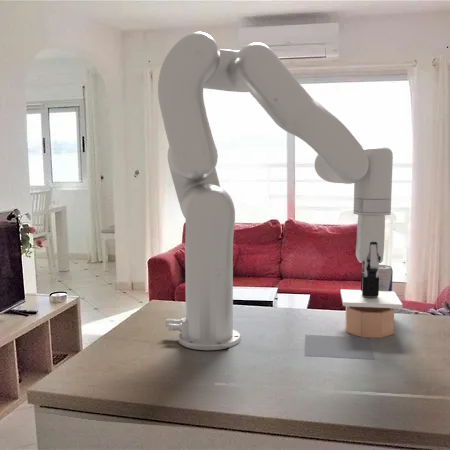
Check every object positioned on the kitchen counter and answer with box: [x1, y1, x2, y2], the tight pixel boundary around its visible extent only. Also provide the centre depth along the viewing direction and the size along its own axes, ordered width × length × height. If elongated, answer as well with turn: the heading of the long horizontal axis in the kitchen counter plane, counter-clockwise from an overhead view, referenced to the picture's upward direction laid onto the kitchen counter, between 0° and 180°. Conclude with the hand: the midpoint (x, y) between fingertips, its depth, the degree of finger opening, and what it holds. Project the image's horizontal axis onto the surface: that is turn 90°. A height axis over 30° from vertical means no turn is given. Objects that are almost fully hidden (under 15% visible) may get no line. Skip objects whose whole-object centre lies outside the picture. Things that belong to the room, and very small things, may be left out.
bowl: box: [344, 306, 395, 339], centre depth 118 cm, size 10×10×6 cm
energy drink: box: [378, 264, 394, 291], centre depth 129 cm, size 5×5×12 cm
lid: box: [340, 272, 403, 309], centre depth 117 cm, size 12×12×6 cm
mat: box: [304, 334, 375, 361], centre depth 108 cm, size 13×13×1 cm
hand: (369, 292), depth 117 cm, fingers closed on lid, 3 cm apart
